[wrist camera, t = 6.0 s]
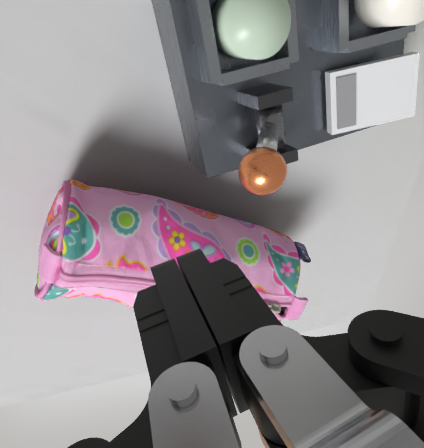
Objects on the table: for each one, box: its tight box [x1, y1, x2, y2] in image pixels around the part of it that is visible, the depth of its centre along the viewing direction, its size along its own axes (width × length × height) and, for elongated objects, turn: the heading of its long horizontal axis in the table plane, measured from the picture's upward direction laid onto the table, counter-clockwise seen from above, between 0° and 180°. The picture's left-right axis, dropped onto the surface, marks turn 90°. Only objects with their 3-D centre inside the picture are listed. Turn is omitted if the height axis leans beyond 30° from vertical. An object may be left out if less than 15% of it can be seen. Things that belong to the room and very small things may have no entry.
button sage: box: [212, 0, 291, 60], centre depth 22 cm, size 4×4×3 cm
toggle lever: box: [238, 104, 287, 195], centre depth 21 cm, size 3×2×10 cm
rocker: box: [325, 52, 420, 135], centre depth 27 cm, size 4×6×1 cm
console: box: [152, 0, 415, 178], centre depth 26 cm, size 12×17×8 cm
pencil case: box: [35, 179, 311, 321], centre depth 30 cm, size 21×9×9 cm, turn 66°
